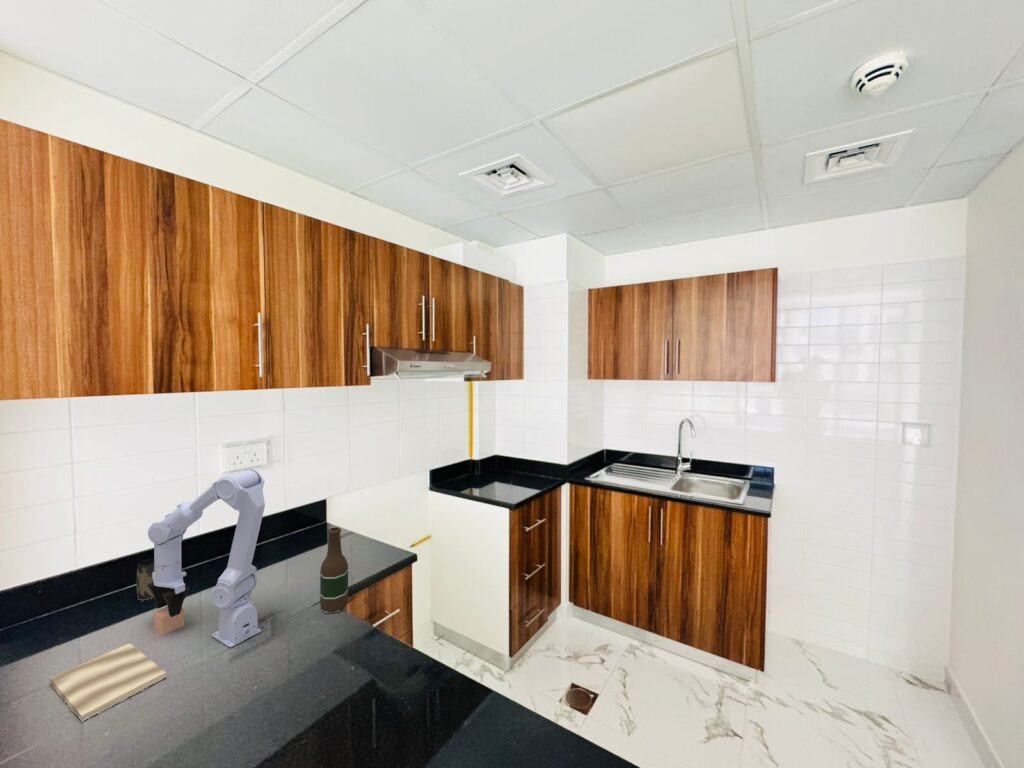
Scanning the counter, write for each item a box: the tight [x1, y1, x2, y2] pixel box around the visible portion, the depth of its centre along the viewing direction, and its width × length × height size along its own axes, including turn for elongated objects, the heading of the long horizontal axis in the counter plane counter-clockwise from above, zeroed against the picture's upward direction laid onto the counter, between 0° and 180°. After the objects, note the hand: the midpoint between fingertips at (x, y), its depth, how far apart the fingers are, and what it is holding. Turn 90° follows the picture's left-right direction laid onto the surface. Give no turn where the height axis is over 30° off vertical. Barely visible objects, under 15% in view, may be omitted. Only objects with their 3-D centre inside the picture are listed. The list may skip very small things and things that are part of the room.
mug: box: [136, 557, 155, 602], centre depth 131 cm, size 8×6×12 cm
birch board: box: [49, 642, 167, 720], centre depth 95 cm, size 20×14×2 cm
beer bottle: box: [319, 526, 349, 612], centre depth 126 cm, size 8×8×24 cm
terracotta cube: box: [153, 605, 185, 636], centre depth 115 cm, size 5×5×5 cm
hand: (168, 610), depth 115 cm, fingers open, 7 cm apart
